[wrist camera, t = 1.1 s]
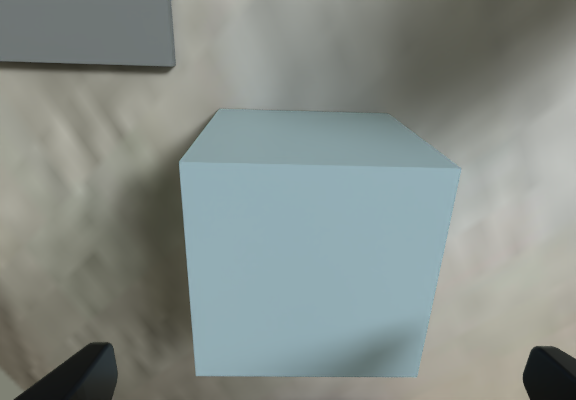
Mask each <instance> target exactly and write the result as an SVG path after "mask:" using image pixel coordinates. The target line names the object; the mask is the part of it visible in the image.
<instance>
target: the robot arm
mask: <svg viewBox="0 0 576 400" xmlns="http://www.w3.org/2000/svg"><path fill="white" fill-rule="evenodd" d="M117 377H118V372H117V366H116V360H115V355H114V349H113V346H112V344H111V343H108V342H93V343H90V344H88V345H86V346H85V347H84V348H82V349H81V350H80V351H78V352H77V353H76V354H74V355H73V356H72V357H70V358H69V359H68V360H66V361H65V362H64V363H62V364H61V365H59V366H58V367H57V368H55V369H54V370H53V371H51V372H50V373H49V374H47V375H46V376H45V377H43V378H42V379H41V380H39V381H38V382H37V383H35V384H34V385H33V386H31V387H30V388H28V389H27V390H26V391H24V392H23V393H22V394H20V395H19V396H18V397H16V398H15V399H14V400H112V397H113V393H114V390H115V387H116V383H117ZM523 383H524V386H525V389H526V391H527V393H528V396H529V398H530V400H576V359H575V358H573V357H572V356H570V355H568V354H566V353H565V352H563V351H561V350H560V349H558V348H556V347H553V346H536V347H534V348H533V349H532V350H531V352H530V355H529V358H528V361H527V363H526V366H525V369H524V372H523Z"/></svg>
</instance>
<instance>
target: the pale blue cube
mask: <svg viewBox="0 0 576 400" xmlns="http://www.w3.org/2000/svg"><path fill="white" fill-rule="evenodd" d="M179 169H180V182H181V194H182V207H183V219H184V232H185V245H186V257H187V270H188V282H189V295H190V308H191V320H192V333H193V345H194V358H195V370H196V376H285V377H417V375H418V370H419V366H420V361H421V356H422V351H423V347H424V342H425V337H426V333H427V328H428V323H429V319H430V314H431V309H432V305H433V300H434V295H435V290H436V286H437V281H438V276H439V272H440V267H441V262H442V258H443V253H444V248H445V243H446V239H447V234H448V229H449V225H450V220H451V215H452V211H453V206H454V201H455V197H456V192H457V187H458V182H459V178H460V173H461V168H460V167H459V166H458V165H456V164H455V163H454V162H452V161H451V160H450V159H448V158H447V157H446V156H444V155H443V154H442V153H440V152H439V151H438V150H436V149H435V148H434V147H432V146H431V145H430V144H428V143H427V142H426V141H424V140H423V139H422V138H420V137H419V136H418V135H416V134H415V133H414V132H412V131H411V130H410V129H408V128H407V127H405V126H404V125H403V124H401V123H400V122H399V121H397V120H396V119H395V118H393V117H392V116H391V115H389V114H388V113H354V112H318V111H282V110H246V109H219V110H218V111H217V113H216V114H215V115H214V116H213V118H212V119H211V120H210V122H209V123H208V124H207V126H206V127H205V128H204V130H203V131H202V132H201V134H200V135H199V136H198V137H197V139H196V140H195V141H194V143H193V144H192V145H191V147H190V148H189V149H188V151H187V152H186V153H185V155H184V156H183V157H182V158H181V160H180V161H179Z"/></svg>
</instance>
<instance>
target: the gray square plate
mask: <svg viewBox="0 0 576 400" xmlns="http://www.w3.org/2000/svg"><path fill="white" fill-rule="evenodd" d="M0 61H14V62H46V63H78V64H111V65H143V66H175V65H176V62H175V48H174V35H173V22H172V8H171V0H0Z"/></svg>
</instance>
